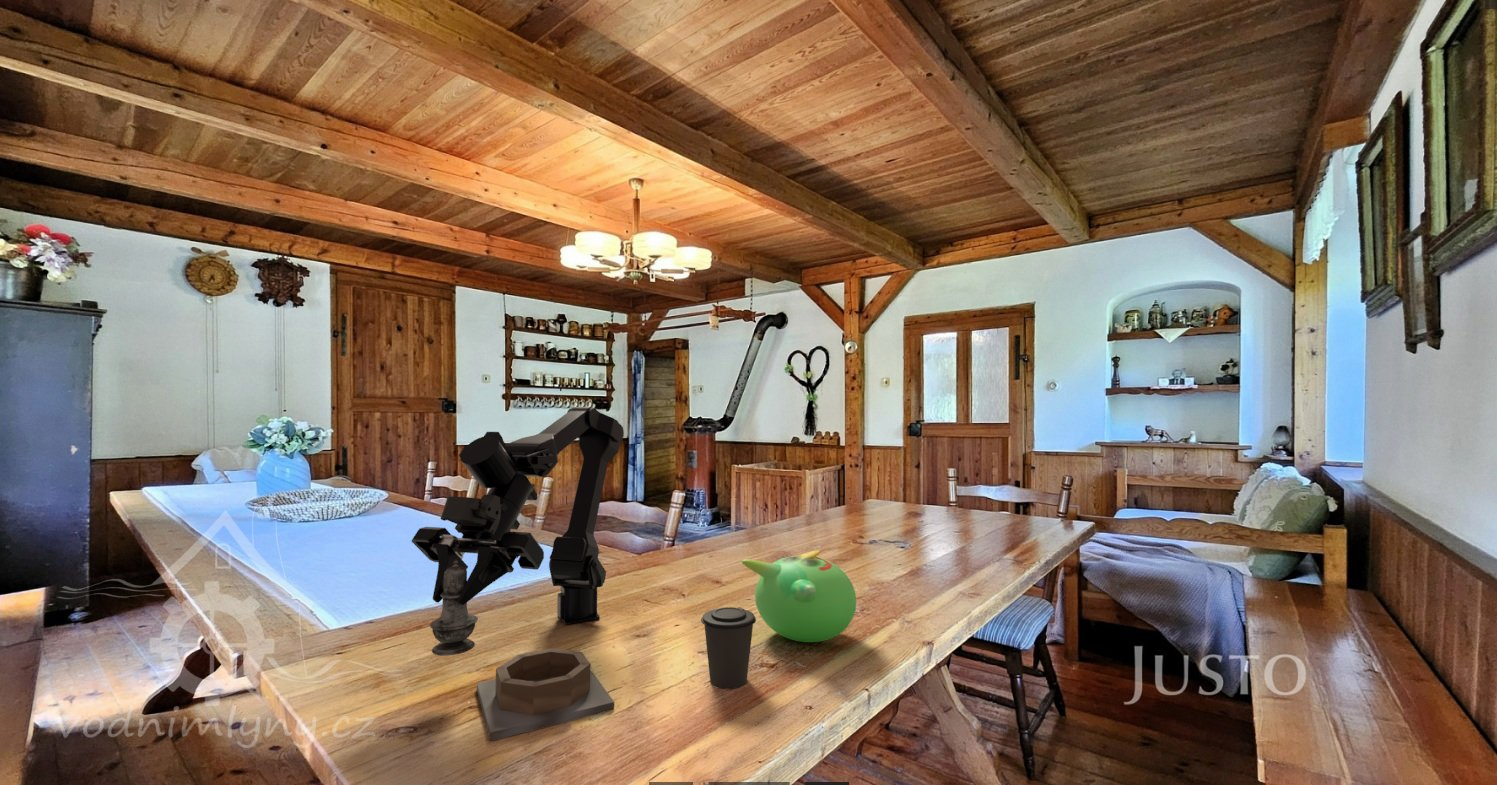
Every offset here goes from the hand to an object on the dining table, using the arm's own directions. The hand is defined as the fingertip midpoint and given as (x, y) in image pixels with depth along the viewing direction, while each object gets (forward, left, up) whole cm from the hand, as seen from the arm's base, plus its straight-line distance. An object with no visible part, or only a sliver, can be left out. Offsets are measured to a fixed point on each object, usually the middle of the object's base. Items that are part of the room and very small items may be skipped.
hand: (447, 602), depth 80 cm
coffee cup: (-36, +13, -13) cm, 41 cm away
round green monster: (-55, +5, -13) cm, 57 cm away
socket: (-11, +6, -13) cm, 18 cm away
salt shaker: (-1, -1, -7) cm, 7 cm away
